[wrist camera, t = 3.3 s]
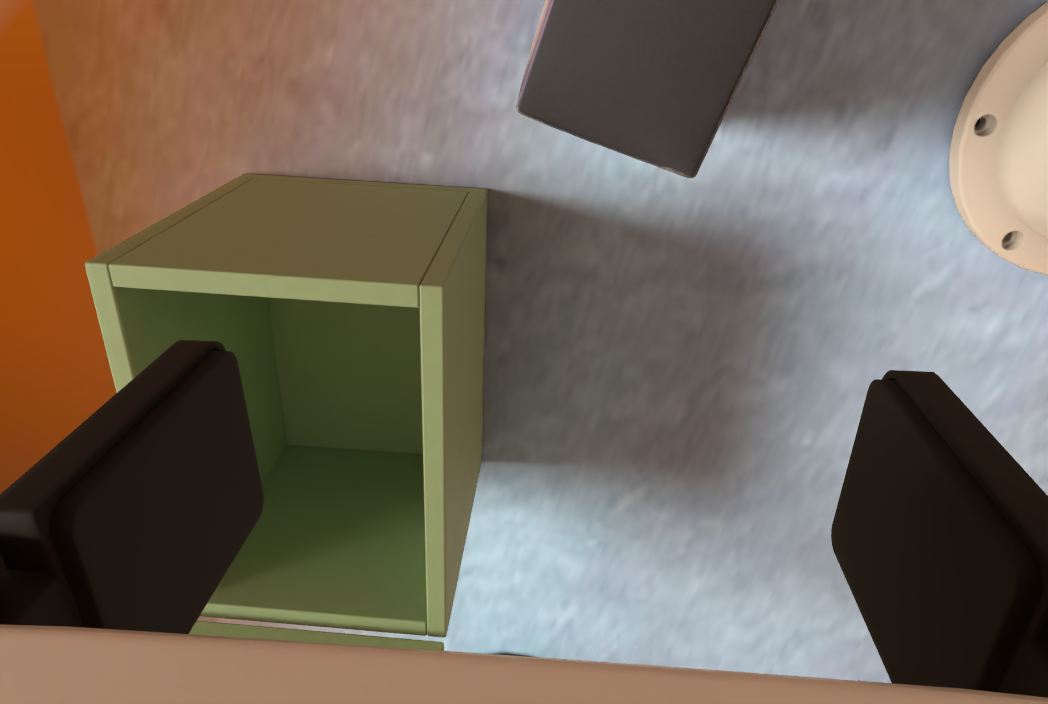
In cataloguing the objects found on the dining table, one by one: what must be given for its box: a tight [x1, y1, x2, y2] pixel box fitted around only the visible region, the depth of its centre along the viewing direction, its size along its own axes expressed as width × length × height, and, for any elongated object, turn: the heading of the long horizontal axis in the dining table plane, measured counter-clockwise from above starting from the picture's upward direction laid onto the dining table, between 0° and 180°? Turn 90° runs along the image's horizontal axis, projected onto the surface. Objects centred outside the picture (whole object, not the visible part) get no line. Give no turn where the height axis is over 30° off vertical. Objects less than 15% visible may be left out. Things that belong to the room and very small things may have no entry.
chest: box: [85, 174, 488, 637], centre depth 32 cm, size 16×12×12 cm
